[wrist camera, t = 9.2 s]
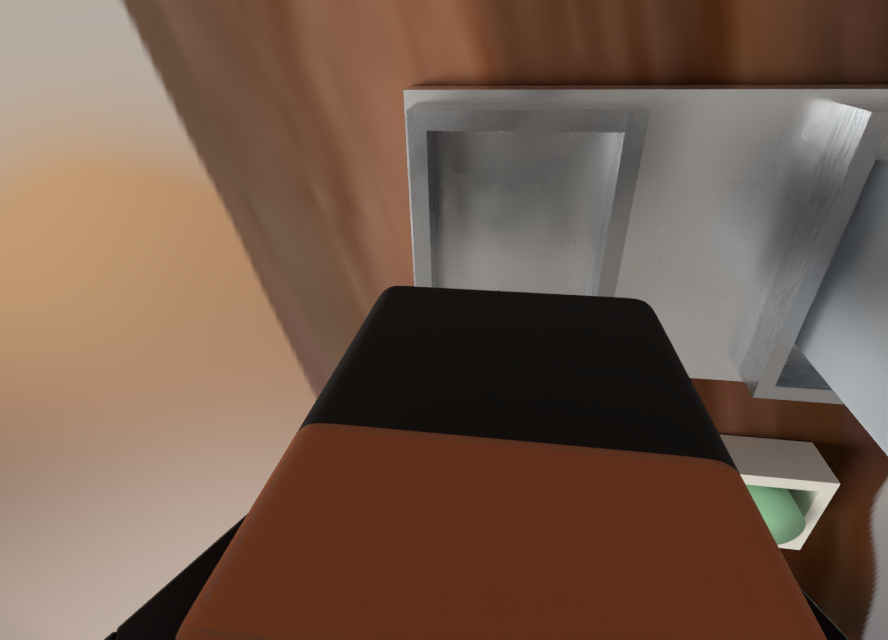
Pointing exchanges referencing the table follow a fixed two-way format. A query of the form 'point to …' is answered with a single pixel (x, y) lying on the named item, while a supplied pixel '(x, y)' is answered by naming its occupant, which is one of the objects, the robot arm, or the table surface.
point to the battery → (504, 490)
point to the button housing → (786, 474)
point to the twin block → (856, 312)
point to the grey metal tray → (650, 205)
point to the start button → (778, 512)
